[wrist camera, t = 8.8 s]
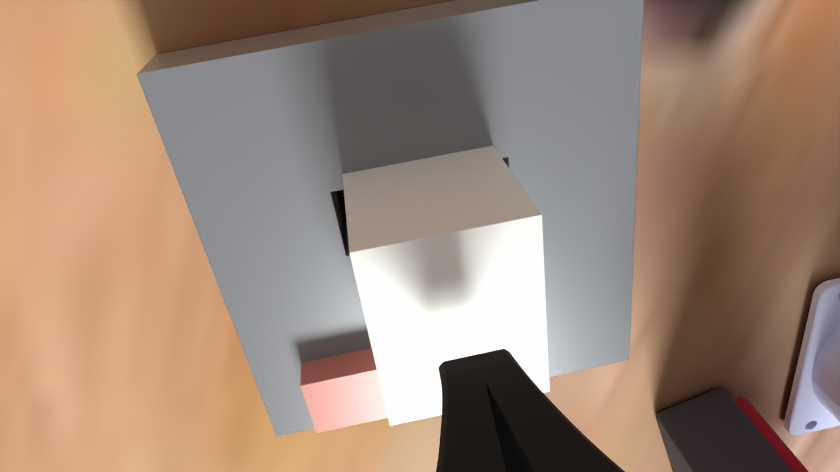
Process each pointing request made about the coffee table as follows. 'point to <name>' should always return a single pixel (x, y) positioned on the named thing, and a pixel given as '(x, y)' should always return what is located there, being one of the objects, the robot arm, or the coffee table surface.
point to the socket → (397, 143)
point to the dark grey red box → (722, 437)
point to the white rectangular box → (445, 271)
